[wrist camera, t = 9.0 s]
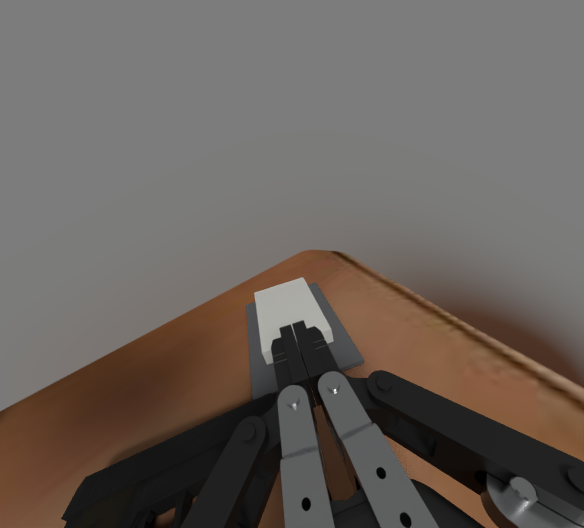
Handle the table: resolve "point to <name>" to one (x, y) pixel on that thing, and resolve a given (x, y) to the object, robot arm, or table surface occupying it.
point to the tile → (287, 312)
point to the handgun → (158, 476)
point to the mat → (340, 349)
